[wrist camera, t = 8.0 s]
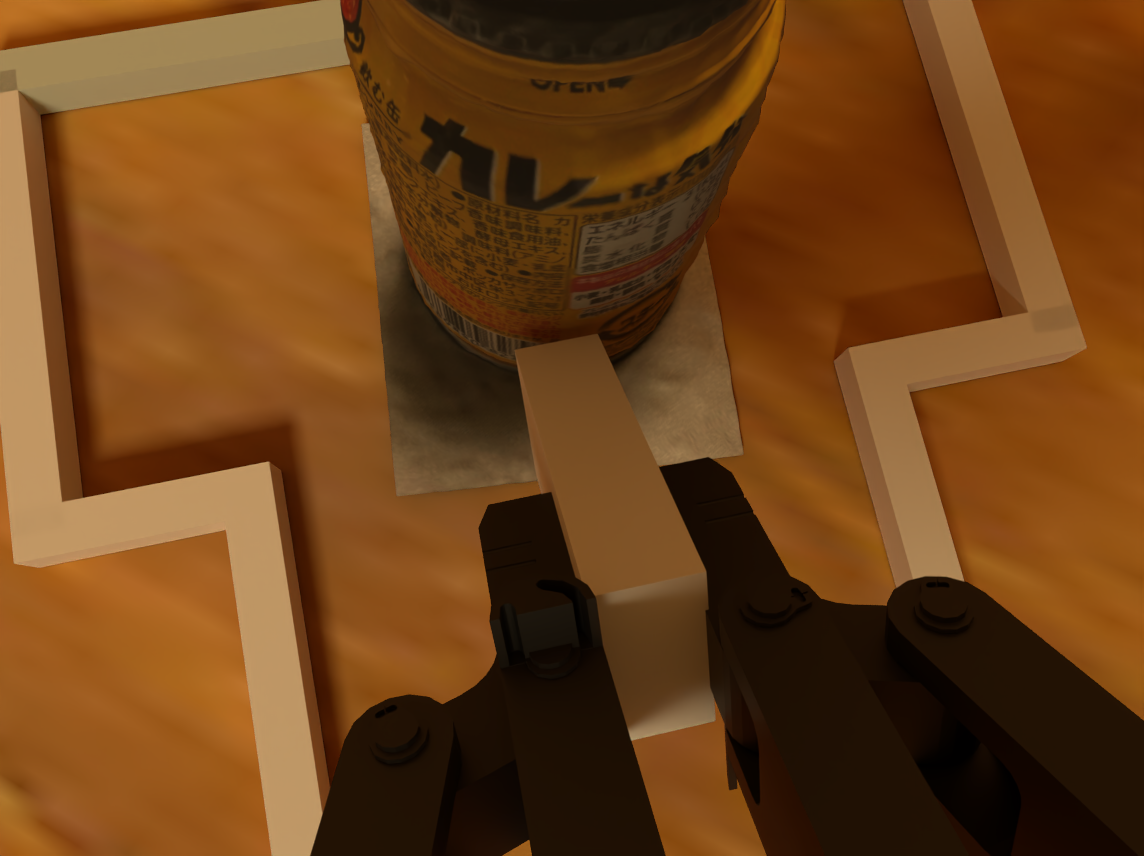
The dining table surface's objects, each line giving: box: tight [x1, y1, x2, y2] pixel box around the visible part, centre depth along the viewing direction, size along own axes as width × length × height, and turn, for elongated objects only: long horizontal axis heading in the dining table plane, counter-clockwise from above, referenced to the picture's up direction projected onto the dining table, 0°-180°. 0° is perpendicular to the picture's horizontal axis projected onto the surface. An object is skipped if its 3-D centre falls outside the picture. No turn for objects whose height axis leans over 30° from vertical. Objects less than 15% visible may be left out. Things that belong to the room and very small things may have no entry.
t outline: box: [0, 0, 1087, 856], centre depth 20 cm, size 22×22×1 cm
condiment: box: [340, 0, 786, 496], centre depth 16 cm, size 7×8×12 cm
